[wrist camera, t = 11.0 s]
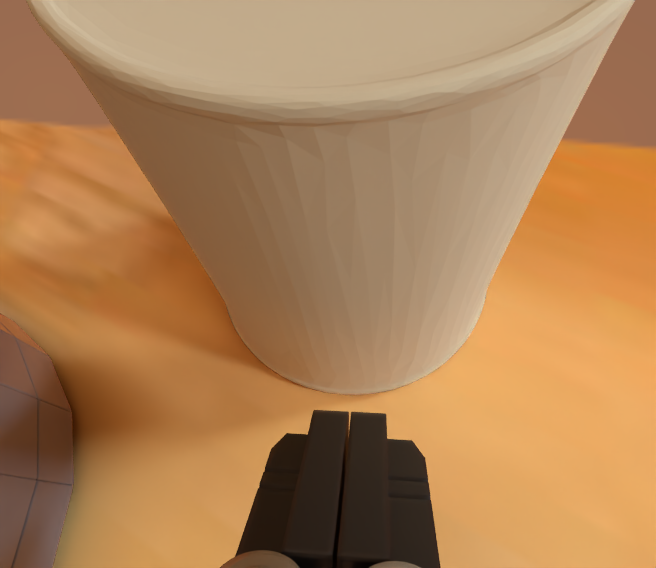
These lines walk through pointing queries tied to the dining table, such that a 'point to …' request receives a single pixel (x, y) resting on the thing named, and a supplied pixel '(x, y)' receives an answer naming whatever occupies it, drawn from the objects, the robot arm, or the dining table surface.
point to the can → (341, 155)
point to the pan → (32, 452)
